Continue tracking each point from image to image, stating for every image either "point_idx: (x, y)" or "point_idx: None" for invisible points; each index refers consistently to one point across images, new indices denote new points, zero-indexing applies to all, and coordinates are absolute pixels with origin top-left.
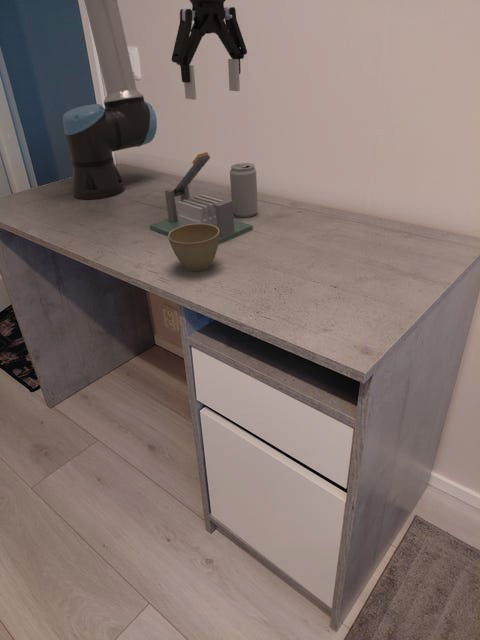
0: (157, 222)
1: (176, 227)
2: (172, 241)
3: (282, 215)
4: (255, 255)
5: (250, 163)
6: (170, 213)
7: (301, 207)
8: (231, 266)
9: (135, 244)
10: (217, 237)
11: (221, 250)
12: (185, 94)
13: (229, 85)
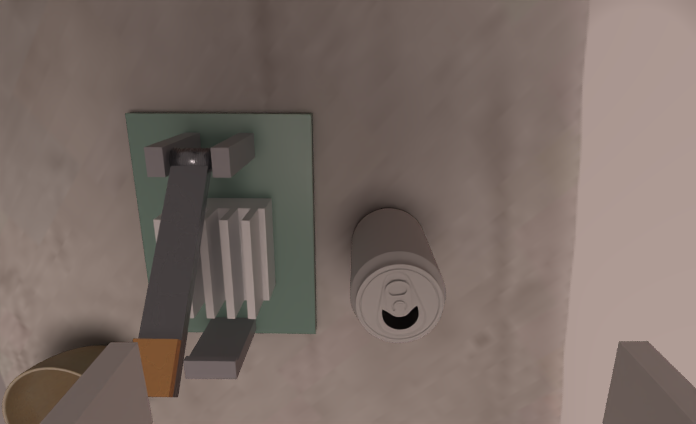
0: (153, 115)
1: None
2: (4, 411)
3: None
4: (221, 415)
5: (442, 304)
6: None
7: (515, 324)
8: (154, 413)
9: (51, 172)
10: None
11: (187, 352)
12: (94, 364)
13: (641, 371)
